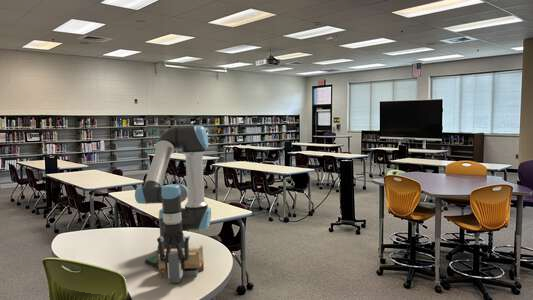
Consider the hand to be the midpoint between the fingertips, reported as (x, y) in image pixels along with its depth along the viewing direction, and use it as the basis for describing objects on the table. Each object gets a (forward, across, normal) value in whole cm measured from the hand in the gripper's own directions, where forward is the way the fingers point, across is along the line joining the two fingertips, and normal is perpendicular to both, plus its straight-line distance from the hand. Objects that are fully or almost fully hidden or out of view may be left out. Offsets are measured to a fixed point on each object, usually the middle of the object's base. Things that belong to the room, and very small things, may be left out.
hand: (175, 276), depth 163 cm
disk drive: (+3, -13, +22) cm, 25 cm away
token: (+3, +4, +9) cm, 10 cm away
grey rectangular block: (+2, 0, +5) cm, 5 cm away
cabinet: (+3, 0, +10) cm, 10 cm away
